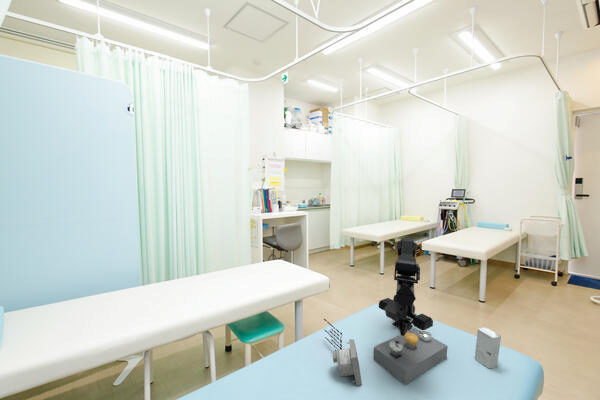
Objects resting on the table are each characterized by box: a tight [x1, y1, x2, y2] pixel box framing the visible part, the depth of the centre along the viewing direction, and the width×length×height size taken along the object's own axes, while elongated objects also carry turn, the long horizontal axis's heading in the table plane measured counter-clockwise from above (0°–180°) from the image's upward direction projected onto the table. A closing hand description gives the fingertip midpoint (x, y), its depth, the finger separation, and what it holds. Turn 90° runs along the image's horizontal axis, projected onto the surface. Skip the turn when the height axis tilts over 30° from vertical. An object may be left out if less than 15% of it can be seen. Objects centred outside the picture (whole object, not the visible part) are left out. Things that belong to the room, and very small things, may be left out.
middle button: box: [405, 333, 418, 350], centre depth 98 cm, size 4×4×5 cm
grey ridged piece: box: [323, 318, 363, 386], centre depth 97 cm, size 27×11×10 cm, turn 28°
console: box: [373, 327, 448, 385], centre depth 98 cm, size 14×25×5 cm, turn 122°
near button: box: [389, 340, 403, 359], centre depth 93 cm, size 4×4×5 cm
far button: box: [419, 330, 432, 342], centre depth 103 cm, size 4×4×5 cm
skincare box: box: [474, 326, 502, 369], centre depth 97 cm, size 6×4×12 cm
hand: (402, 335), depth 94 cm, fingers closed
